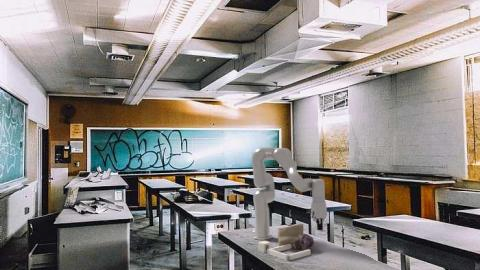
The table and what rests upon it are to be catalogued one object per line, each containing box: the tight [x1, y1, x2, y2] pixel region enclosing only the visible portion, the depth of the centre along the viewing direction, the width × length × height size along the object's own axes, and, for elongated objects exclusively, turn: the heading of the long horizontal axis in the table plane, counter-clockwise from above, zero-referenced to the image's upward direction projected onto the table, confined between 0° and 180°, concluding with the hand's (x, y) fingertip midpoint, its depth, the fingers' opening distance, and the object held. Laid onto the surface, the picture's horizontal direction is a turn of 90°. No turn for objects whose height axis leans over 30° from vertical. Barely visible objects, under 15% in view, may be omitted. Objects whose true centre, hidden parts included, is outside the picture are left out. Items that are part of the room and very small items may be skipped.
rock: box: [294, 232, 315, 251], centre depth 223 cm, size 12×9×10 cm
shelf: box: [275, 223, 304, 248], centre depth 231 cm, size 6×20×12 cm, turn 127°
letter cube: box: [257, 240, 271, 253], centre depth 222 cm, size 5×5×5 cm
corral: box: [266, 244, 312, 261], centre depth 214 cm, size 17×18×2 cm
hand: (320, 229), depth 230 cm, fingers closed
